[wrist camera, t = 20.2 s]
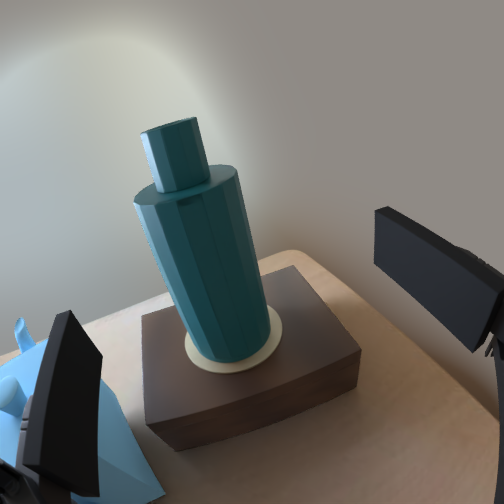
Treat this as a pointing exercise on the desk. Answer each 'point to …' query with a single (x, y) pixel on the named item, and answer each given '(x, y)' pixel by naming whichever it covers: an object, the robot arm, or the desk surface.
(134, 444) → the teapot
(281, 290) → the dark brown wooden block
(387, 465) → the desk surface
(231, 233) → the bottle
